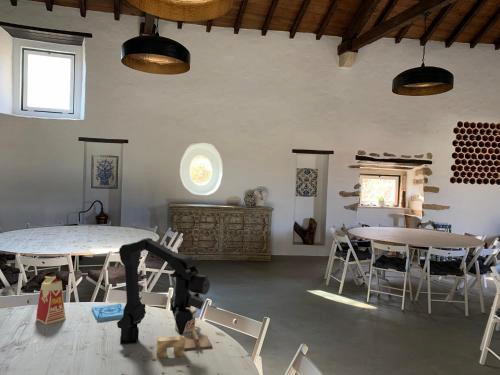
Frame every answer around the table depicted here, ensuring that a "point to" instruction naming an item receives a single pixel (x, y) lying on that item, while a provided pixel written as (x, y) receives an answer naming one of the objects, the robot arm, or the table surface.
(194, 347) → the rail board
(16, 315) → the table surface
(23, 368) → the table surface
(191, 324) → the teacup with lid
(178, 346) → the tan notched block
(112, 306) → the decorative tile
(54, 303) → the milk carton
